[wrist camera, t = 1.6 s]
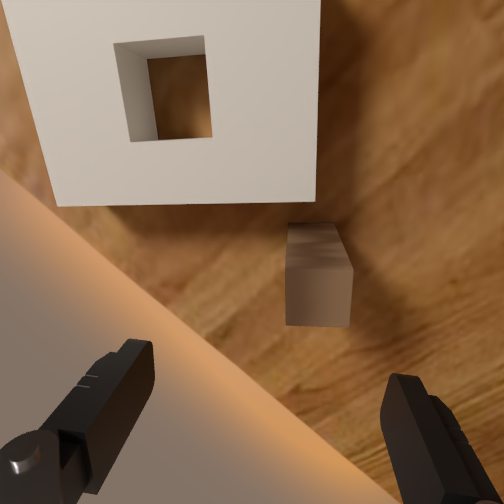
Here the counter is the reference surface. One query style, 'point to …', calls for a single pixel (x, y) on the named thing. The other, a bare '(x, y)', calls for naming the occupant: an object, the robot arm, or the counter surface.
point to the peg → (317, 276)
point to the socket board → (141, 103)
